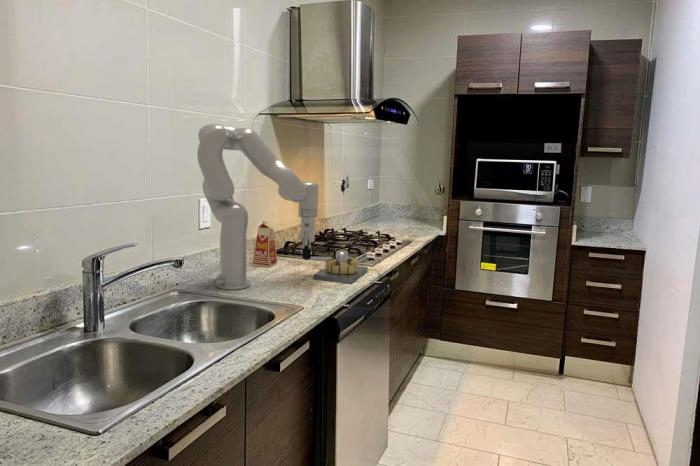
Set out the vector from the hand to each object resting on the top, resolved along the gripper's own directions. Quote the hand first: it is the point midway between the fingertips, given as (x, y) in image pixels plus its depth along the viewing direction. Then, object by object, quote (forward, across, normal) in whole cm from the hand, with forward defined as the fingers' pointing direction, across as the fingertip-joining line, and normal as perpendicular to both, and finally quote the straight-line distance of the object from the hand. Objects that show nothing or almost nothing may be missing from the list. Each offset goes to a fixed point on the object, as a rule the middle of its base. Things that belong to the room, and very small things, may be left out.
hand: (306, 258), depth 208 cm
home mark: (+8, +15, -6) cm, 18 cm away
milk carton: (+9, +21, +20) cm, 30 cm away
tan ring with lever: (+6, +6, -10) cm, 13 cm away
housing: (+8, +6, -14) cm, 18 cm away
